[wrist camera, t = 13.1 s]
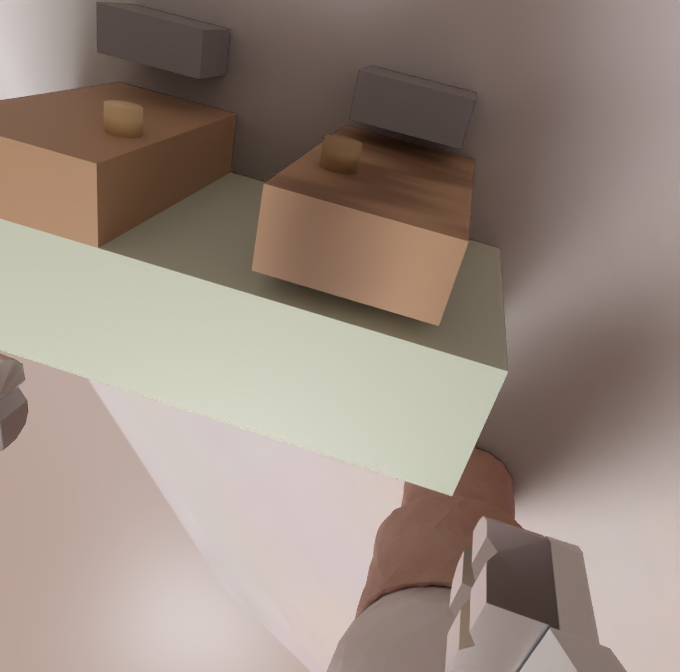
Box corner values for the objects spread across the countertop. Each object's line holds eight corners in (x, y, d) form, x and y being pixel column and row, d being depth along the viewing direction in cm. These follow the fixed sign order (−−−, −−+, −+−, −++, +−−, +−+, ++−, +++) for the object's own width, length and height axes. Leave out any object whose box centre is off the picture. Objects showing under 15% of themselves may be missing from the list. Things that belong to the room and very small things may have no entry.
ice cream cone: (447, 563, 40) (421, 956, 23) (344, 465, 38) (230, 821, 21) (582, 503, 35) (675, 953, 18) (471, 386, 33) (458, 774, 16)
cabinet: (552, 112, 25) (598, 171, 15) (462, 344, 32) (452, 496, 21) (67, -13, 27) (-184, -37, 17) (77, 229, 34) (-101, 317, 24)
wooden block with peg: (481, 138, 26) (479, 209, 16) (455, 218, 28) (438, 326, 18) (350, 103, 27) (268, 150, 17) (333, 184, 29) (251, 270, 19)
